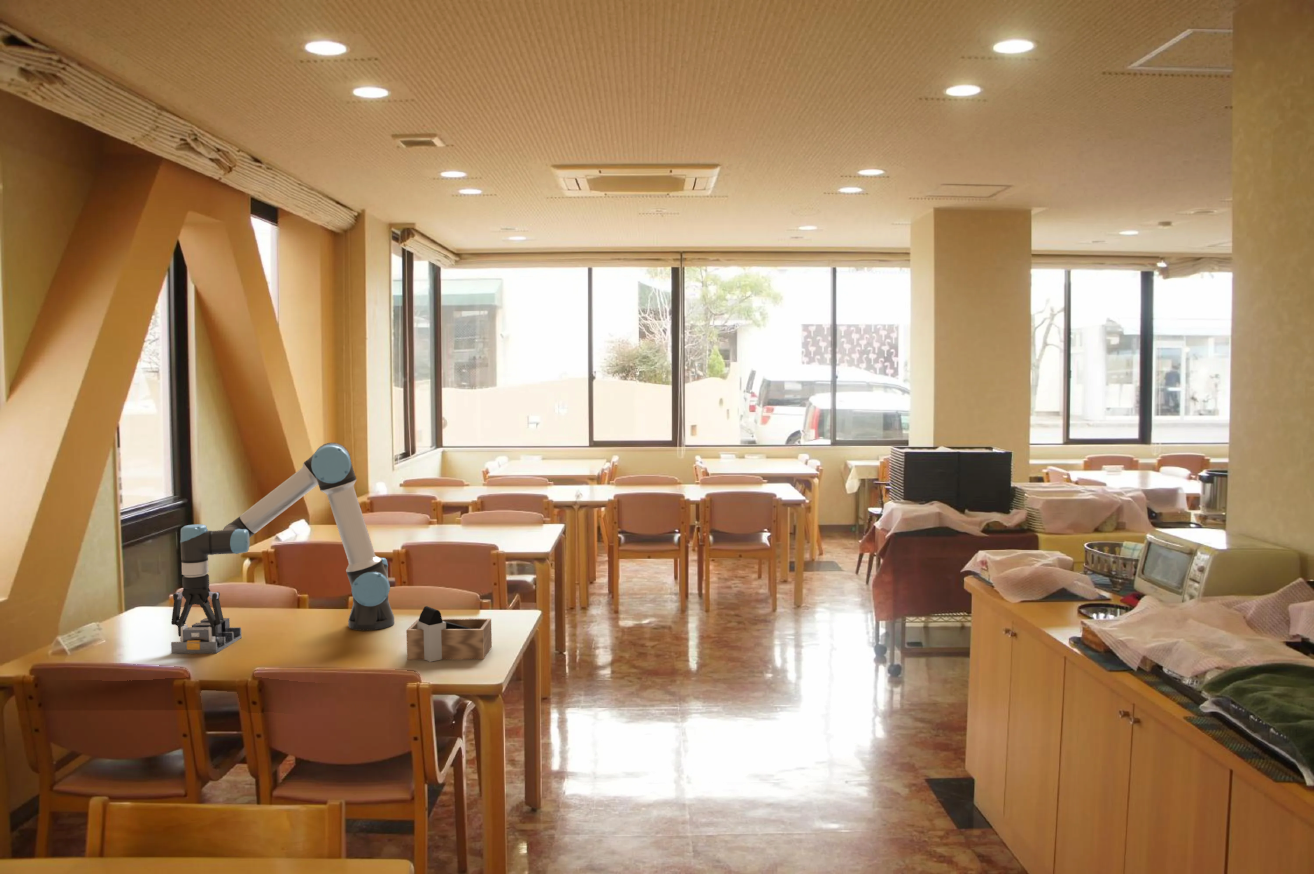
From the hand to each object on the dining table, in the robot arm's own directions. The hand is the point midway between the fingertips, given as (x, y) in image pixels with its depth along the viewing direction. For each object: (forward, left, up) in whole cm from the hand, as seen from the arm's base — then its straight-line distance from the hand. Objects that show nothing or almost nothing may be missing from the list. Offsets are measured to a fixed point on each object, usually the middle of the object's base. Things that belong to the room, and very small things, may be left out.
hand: (198, 646), depth 299 cm
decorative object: (-80, +4, -1) cm, 80 cm away
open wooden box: (-80, +4, -1) cm, 80 cm away
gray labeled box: (0, 0, 0) cm, 0 cm away
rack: (0, -6, -1) cm, 6 cm away
